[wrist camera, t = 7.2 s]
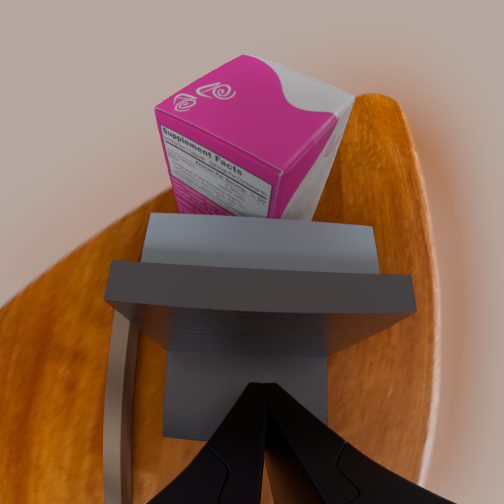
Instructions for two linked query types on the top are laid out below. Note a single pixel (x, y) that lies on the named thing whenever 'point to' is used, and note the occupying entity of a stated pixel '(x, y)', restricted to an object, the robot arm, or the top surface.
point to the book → (259, 243)
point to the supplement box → (252, 140)
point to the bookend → (249, 330)
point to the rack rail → (119, 411)
